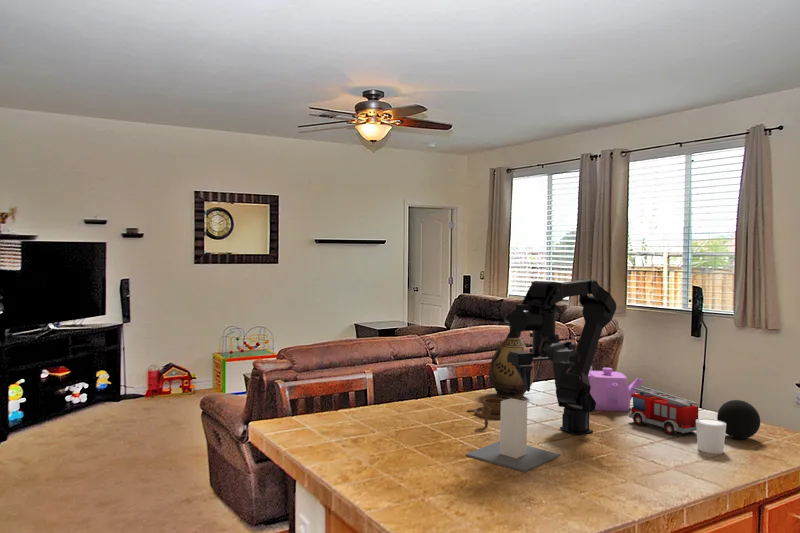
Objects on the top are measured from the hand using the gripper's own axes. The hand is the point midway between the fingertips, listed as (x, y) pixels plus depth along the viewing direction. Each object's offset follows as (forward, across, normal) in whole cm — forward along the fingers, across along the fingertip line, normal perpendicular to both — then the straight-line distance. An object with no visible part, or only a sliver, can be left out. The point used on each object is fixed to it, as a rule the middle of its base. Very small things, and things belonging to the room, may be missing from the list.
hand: (543, 390), depth 155 cm
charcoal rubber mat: (+13, -14, -8) cm, 21 cm away
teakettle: (+13, +43, +24) cm, 51 cm away
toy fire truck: (+13, +39, -2) cm, 42 cm away
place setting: (+14, -2, +25) cm, 29 cm away
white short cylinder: (+13, +35, -21) cm, 43 cm away
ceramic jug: (+13, +22, +48) cm, 55 cm away
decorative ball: (+13, +51, -16) cm, 55 cm away
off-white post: (+13, -14, -8) cm, 20 cm away
